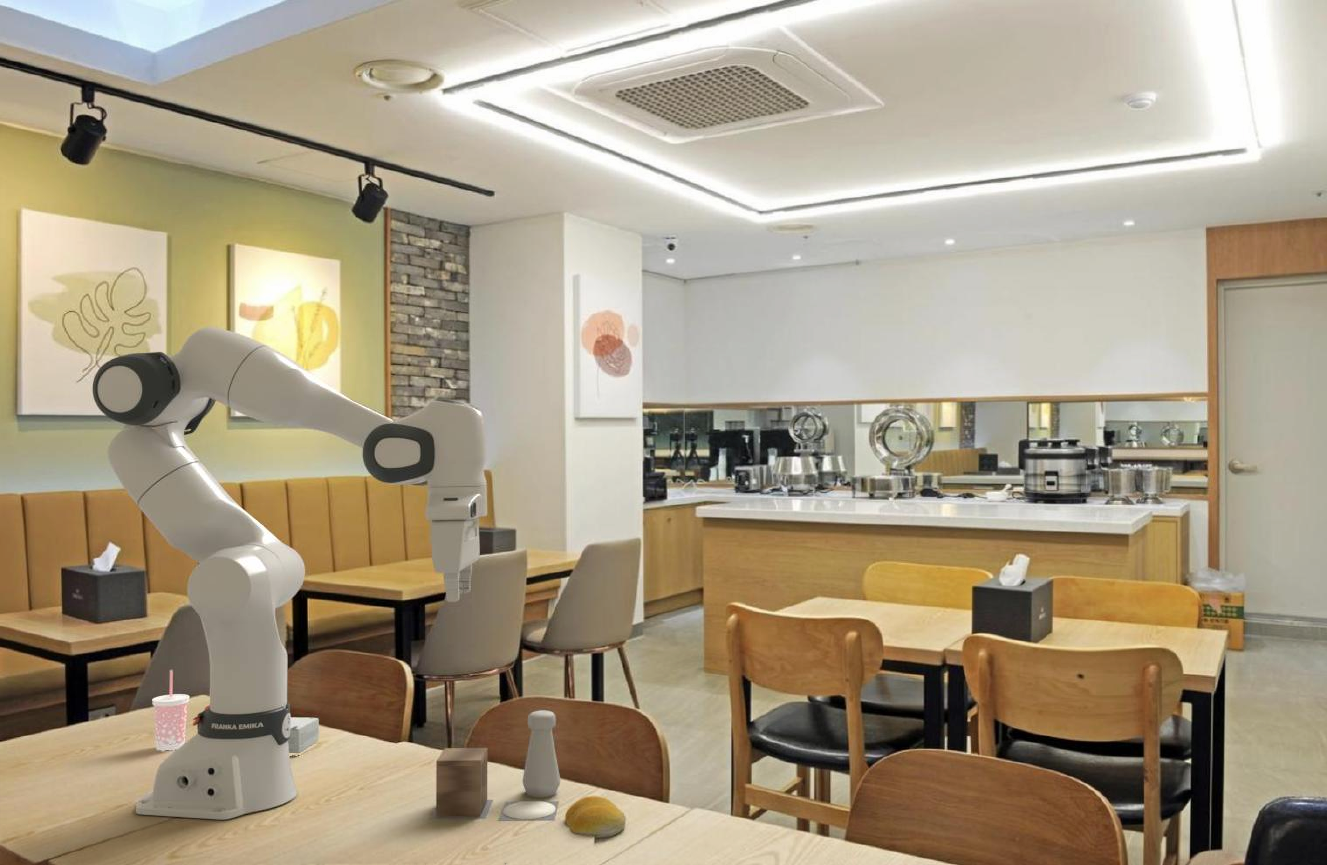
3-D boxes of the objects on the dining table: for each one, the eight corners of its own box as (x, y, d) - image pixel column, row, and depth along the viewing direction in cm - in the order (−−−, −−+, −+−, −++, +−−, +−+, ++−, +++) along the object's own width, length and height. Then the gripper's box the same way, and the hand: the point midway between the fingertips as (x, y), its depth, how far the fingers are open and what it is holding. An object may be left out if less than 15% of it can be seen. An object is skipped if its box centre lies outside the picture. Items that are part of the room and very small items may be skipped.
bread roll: (576, 843, 138) (576, 814, 138) (560, 822, 147) (560, 794, 147) (634, 835, 141) (634, 806, 141) (615, 815, 150) (615, 787, 150)
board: (429, 822, 146) (429, 783, 146) (440, 803, 154) (440, 766, 154) (485, 822, 146) (485, 782, 146) (493, 803, 154) (493, 766, 154)
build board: (498, 824, 145) (498, 819, 145) (505, 805, 153) (505, 800, 153) (554, 823, 145) (554, 818, 145) (558, 805, 153) (558, 799, 153)
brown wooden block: (436, 816, 147) (436, 760, 147) (444, 801, 153) (444, 748, 153) (480, 816, 147) (480, 760, 147) (487, 801, 153) (487, 747, 153)
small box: (279, 743, 187) (279, 715, 188) (319, 745, 186) (319, 717, 186) (256, 755, 180) (257, 726, 180) (298, 757, 179) (298, 728, 179)
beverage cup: (178, 752, 181) (179, 673, 182) (144, 752, 181) (145, 673, 182) (195, 742, 187) (196, 666, 188) (162, 742, 187) (163, 666, 188)
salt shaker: (553, 804, 154) (553, 717, 154) (517, 801, 155) (517, 715, 155) (564, 791, 159) (565, 708, 160) (530, 789, 161) (530, 706, 161)
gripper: (449, 503, 164) (450, 589, 164) (423, 508, 144) (424, 606, 144) (488, 502, 165) (489, 588, 164) (467, 508, 144) (468, 605, 144)
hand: (458, 597), depth 154 cm, fingers open, 8 cm apart
